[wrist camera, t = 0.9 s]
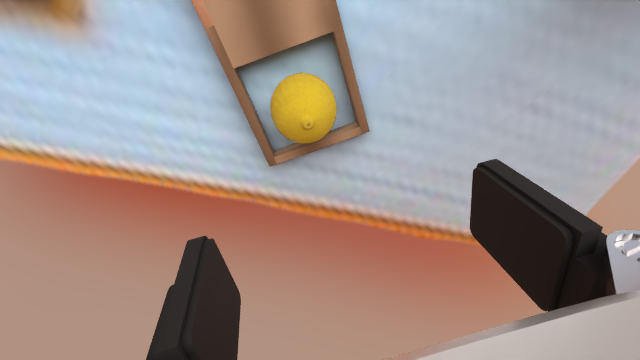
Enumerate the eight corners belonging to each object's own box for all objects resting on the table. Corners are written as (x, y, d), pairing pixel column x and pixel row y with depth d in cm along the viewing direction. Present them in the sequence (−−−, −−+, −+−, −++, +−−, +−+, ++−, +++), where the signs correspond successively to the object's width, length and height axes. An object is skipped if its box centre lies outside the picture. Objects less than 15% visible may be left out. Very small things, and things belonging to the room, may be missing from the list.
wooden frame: (262, -266, 19) (262, -285, 18) (365, 126, 33) (369, 131, 31) (103, -198, 20) (91, -212, 18) (269, 160, 33) (269, 166, 32)
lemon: (292, 133, 32) (298, 170, 25) (258, 87, 29) (254, 114, 23) (339, 103, 31) (357, 133, 24) (308, 52, 28) (320, 70, 22)
